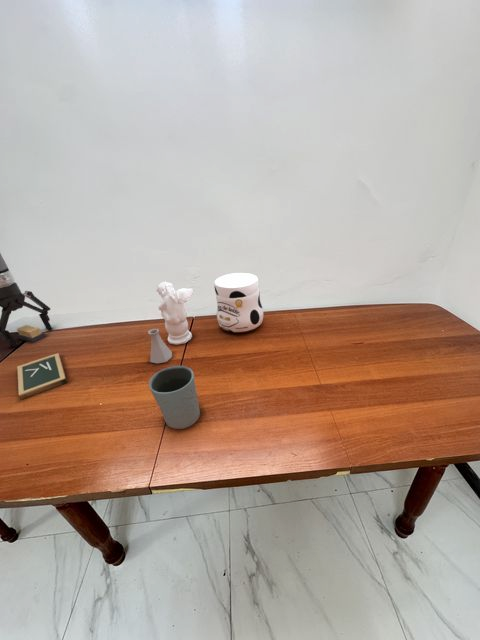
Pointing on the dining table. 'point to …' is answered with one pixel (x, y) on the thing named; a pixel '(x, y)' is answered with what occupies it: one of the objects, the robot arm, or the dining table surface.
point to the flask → (158, 348)
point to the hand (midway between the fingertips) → (32, 337)
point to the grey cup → (176, 396)
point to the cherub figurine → (175, 312)
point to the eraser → (30, 333)
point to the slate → (40, 375)
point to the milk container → (238, 302)
